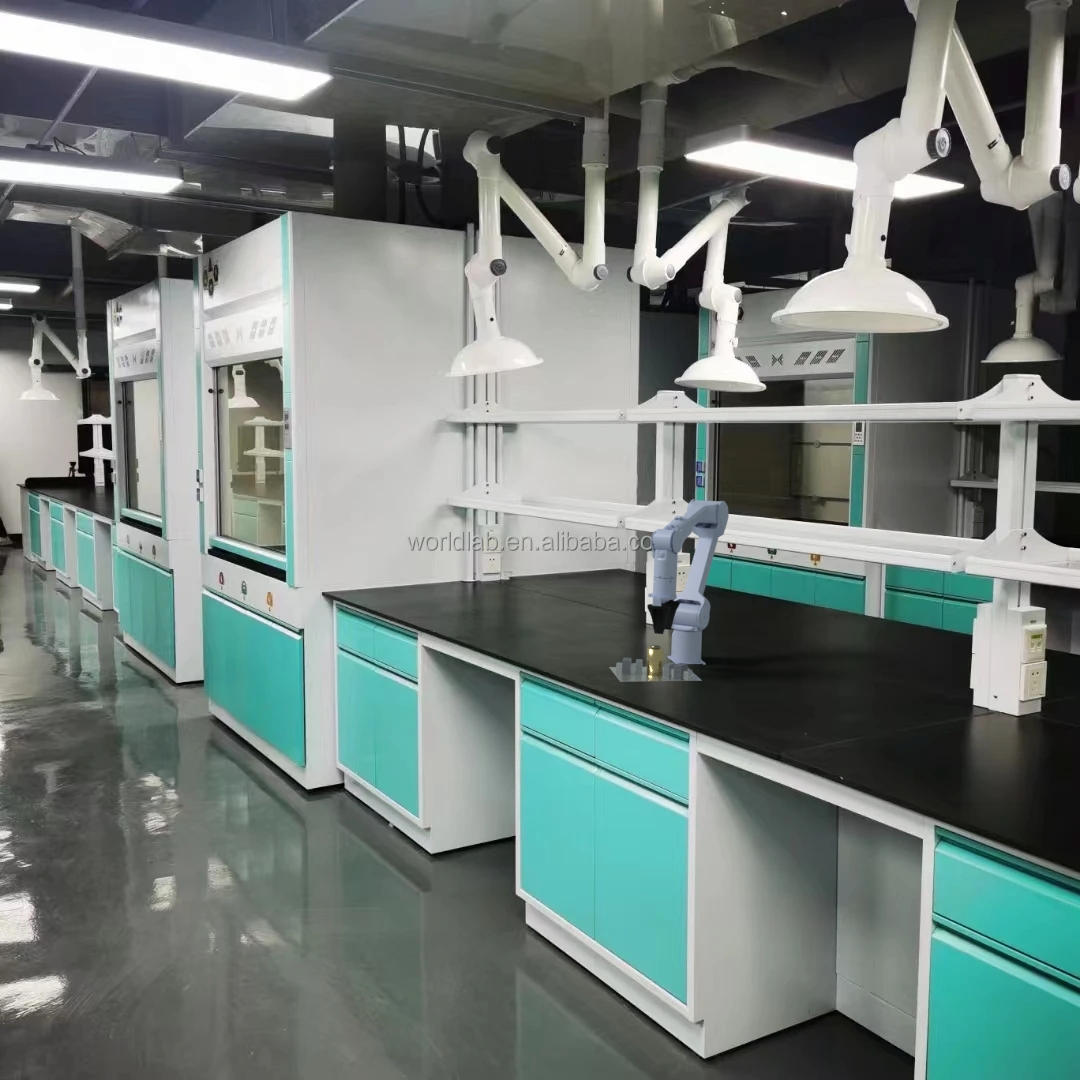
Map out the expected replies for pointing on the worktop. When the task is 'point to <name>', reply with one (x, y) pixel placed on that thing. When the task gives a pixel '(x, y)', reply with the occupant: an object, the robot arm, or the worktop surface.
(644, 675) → the shaft rig
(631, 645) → the worktop surface
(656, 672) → the cylinder
